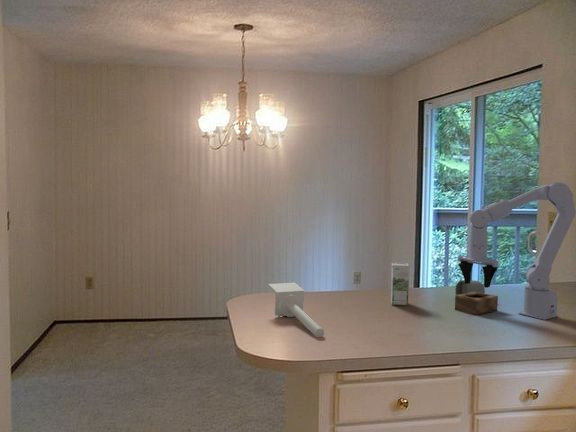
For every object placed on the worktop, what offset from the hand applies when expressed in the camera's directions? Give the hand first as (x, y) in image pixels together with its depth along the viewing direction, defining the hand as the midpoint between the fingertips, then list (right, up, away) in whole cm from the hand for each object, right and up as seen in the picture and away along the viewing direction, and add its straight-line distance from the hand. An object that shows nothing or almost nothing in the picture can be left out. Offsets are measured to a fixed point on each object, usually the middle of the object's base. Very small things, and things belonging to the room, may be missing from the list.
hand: (477, 285), depth 187 cm
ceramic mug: (+2, -8, +17) cm, 19 cm away
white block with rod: (-61, -10, -18) cm, 64 cm away
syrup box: (-25, -8, +9) cm, 27 cm away
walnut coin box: (0, -9, +1) cm, 9 cm away
